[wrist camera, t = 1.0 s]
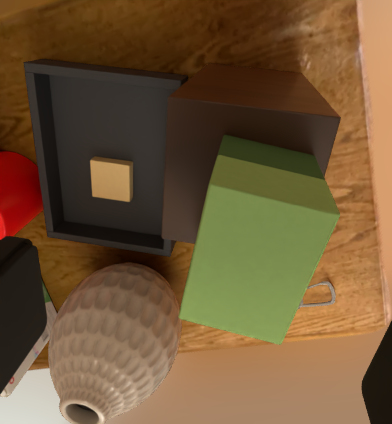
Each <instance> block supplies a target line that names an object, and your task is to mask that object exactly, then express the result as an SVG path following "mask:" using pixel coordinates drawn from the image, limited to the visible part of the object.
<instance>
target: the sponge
mask: <svg viewBox="0 0 392 424" xmlns="http://www.w3.org/2000/svg"><path fill="white" fill-rule="evenodd" d="M339 217H340V213H339V210H338V208H337V206H336V203H335V201H334V199H333V196H332V194H331V192H330V190H329V187H328V185H327V183H326V181H325V178H324V176H323V173H322V171H321V169H320V166H319V164H318V162H317V159H316V157H315V156H314V155H310V154H306V153H302V152H297V151H293V150H289V149H285V148H280V147H276V146H272V145H268V144H263V143H259V142H255V141H251V140H246V139H242V138H238V137H234V136H229V135H224V136H223V139H222V142H221V145H220V149H219V152H218V155H217V159H216V162H215V165H214V169H213V172H212V175H211V179H210V182H209V186H208V190H207V194H206V199H205V203H204V207H203V212H202V216H201V220H200V225H199V229H198V233H197V237H196V242H195V246H194V250H193V255H192V259H191V263H190V268H189V272H188V276H187V281H186V285H185V289H184V294H183V298H182V302H181V307H180V311H179V315H178V317H179V319H182V320H186V321H190V322H194V323H198V324H201V325H205V326H209V327H213V328H217V329H221V330H225V331H229V332H232V333H236V334H240V335H244V336H248V337H252V338H256V339H260V340H263V341H267V342H271V343H275V344H279V345H280V344H282V342H283V340H284V337H285V335H286V333H287V331H288V329H289V326H290V324H291V322H292V320H293V318H294V315H295V313H296V311H297V309H298V307H299V304H300V302H301V300H302V298H303V296H304V293H305V291H306V289H307V287H308V285H309V282H310V280H311V278H312V276H313V274H314V272H315V269H316V267H317V265H318V263H319V261H320V258H321V256H322V254H323V252H324V250H325V247H326V245H327V243H328V241H329V239H330V236H331V234H332V232H333V230H334V228H335V225H336V223H337V221H338V219H339Z"/></svg>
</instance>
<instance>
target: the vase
mask: <svg viewBox="0 0 392 424" xmlns="http://www.w3.org/2000/svg"><path fill="white" fill-rule="evenodd" d="M179 311H180V307H179V304H178V301H177V298H176V296H175V294H174V291H173V290H172V288H171V286H170V285H169V283H168V282H167V280H166V279H165V278H164V277H163V276H162V275H161V274H159V273H158V272H157V271H155V270H154V269H152V268H150V267H148V266H145V265H142V264H137V263H119V264H114V265H110V266H107V267H105V268H102V269H100V270H97V271H95V272H94V273H92V274H90V275H89V276H88V277H86V278H85V279H84V280H82V281H81V282H80V283H79V284H78V285H77V286H76V287H75V288H74V289H73V290H72V292H71V293H70V294H69V296H68V297H67V298H66V300H65V301H64V303H63V304H62V306H61V307H60V310H59V312H58V314H57V316H56V318H55V321H54V323H53V326H52V330H51V334H50V341H49V368H50V374H51V378H52V381H53V383H54V387H55V389H56V391H57V393H58V395H59V397H60V406H59V407H60V412H61V414H62V416H63V417H64V418H65V419H66V420H68V421H69V422H70V423H72V424H104V423H105V422H106V421H107V420H108V419H109V418H111V417H115V416H118V415H120V414H123V413H125V412H127V411H129V410H131V409H133V408H134V407H136V406H138V405H139V404H140V403H142V402H143V401H144V400H145V399H147V398H148V397H149V396H150V395H151V394H152V393H153V392H154V391H155V390H156V389H157V388H158V387H159V385H160V384H161V382H162V381H163V380H164V379H165V377H166V376H167V374H168V373H169V371H170V369H171V367H172V364H173V362H174V360H175V357H176V355H177V351H178V348H179V344H180V338H181V330H182V321H181V319H179V317H178V315H179Z"/></svg>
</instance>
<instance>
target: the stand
mask: <svg viewBox="0 0 392 424" xmlns="http://www.w3.org/2000/svg"><path fill="white" fill-rule="evenodd" d="M340 119H341V117H340V116H339V115H338V114H337V113H336V112H335V111H334V109H333V108H332V107H331V106H330V105H329V104H328V103H327V101H326V100H325V99H324V98H323V97H322V96H321V95H320V93H319V92H318V91H317V90H316V89H315V88H314V87H313V85H312V84H311V83H310V82H309V81H308V80H307V79H306V77H305V76H304V75H303V74H302V73H295V72H286V71H277V70H268V69H259V68H250V67H241V66H232V65H223V64H214V63H208V64H207V65H206V66H205V67H203V68H202V69H201V70H200V71H199V72H197V73H196V74H195V75H194V76H193V77H191V78H190V79H189V80H188V81H187V82H185V83H184V84H183V85H182V86H181V87H179V88H178V89H177V90H176V91H175V92H173V93H172V94H171V95H170V96H169V97H168V107H167V128H166V150H165V171H164V192H163V214H162V235H161V237H162V238H163V239H169V240H175V241H182V242H188V243H194V244H195V242H196V237H197V233H198V229H199V225H200V220H201V216H202V212H203V207H204V203H205V199H206V194H207V190H208V186H209V182H210V179H211V175H212V172H213V169H214V165H215V162H216V159H217V155H218V152H219V149H220V145H221V142H222V139H223V136H224V135H229V136H234V137H238V138H242V139H246V140H251V141H255V142H259V143H263V144H268V145H272V146H276V147H280V148H285V149H289V150H293V151H297V152H302V153H306V154H310V155H314V156H315V157H316V159H317V162H318V164H319V166H320V169H321V171H322V173H323V176H325V173H326V169H327V165H328V162H329V158H330V155H331V151H332V148H333V144H334V141H335V137H336V134H337V130H338V126H339V123H340Z"/></svg>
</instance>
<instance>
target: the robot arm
mask: <svg viewBox="0 0 392 424" xmlns="http://www.w3.org/2000/svg"><path fill="white" fill-rule="evenodd" d="M46 325H47V312H46V305H45V298H44V292H43V285H42V278H41V271H40V264H39V257H38V251H37V248H36V246H33V245H32V242H31V241H30V240H29V239H24V238H19V237H13V236H5V237H4V238H2V239H1V240H0V394H1V393H2V391H3V390H4V389H5V387H6V386H7V384H8V383H9V381H10V380H11V378H12V377H13V376H14V374H15V373H16V371H17V370H18V368H19V367H20V365H21V364H22V362H23V361H24V360H25V358H26V357H27V355H28V354H29V352H30V351H31V349H32V348H33V347H34V345H35V344H36V342H37V341H38V339H39V338H40V336H41V335H42V334H43V332H44V330H45V328H46ZM362 394H363V398H364V402H365V405H366V409H367V412H368V416H369V420H370V423H371V424H392V321H391V323H390V325H389V327H388V329H387V331H386V333H385V335H384V337H383V339H382V341H381V343H380V345H379V347H378V349H377V351H376V353H375V355H374V357H373V359H372V362H371V363H370V365H369V367H368V369H367V371H366V374H365V376H364V378H363V380H362Z"/></svg>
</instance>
